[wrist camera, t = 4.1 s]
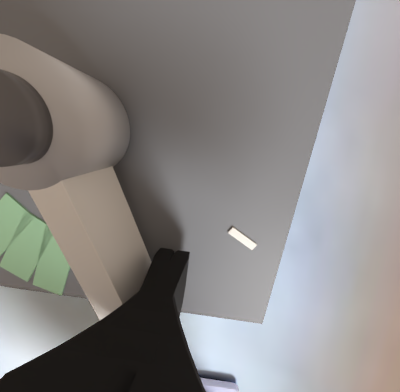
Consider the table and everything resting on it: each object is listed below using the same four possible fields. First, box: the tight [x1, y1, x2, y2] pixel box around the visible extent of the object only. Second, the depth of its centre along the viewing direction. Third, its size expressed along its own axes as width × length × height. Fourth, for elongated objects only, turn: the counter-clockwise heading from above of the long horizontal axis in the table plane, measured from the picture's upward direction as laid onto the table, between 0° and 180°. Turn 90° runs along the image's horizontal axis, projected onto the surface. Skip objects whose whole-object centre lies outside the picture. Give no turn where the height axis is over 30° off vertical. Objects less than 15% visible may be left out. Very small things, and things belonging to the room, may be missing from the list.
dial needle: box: [0, 34, 151, 320], centre depth 8 cm, size 13×4×4 cm, turn 16°
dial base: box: [0, 0, 356, 324], centre depth 9 cm, size 18×22×1 cm
